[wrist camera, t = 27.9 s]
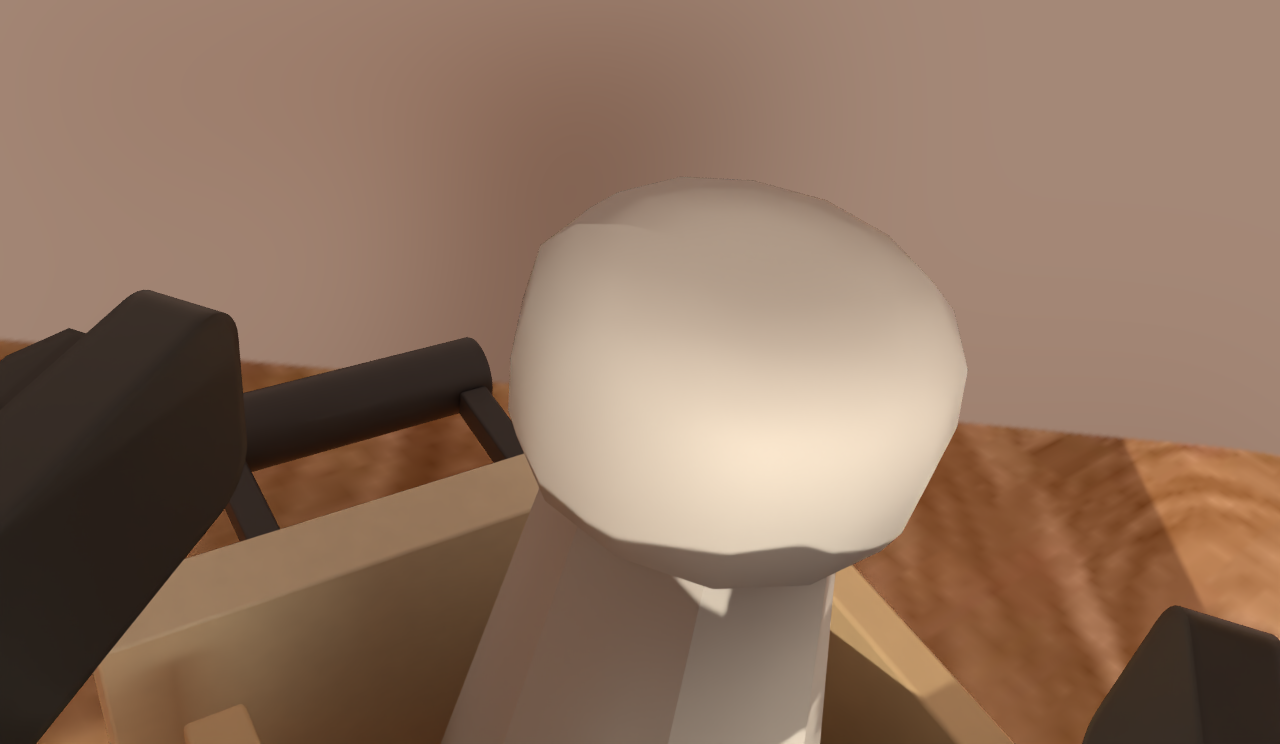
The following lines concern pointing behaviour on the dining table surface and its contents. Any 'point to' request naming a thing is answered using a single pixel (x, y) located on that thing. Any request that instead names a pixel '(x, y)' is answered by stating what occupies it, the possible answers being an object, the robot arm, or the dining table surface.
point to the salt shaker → (705, 463)
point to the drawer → (417, 594)
